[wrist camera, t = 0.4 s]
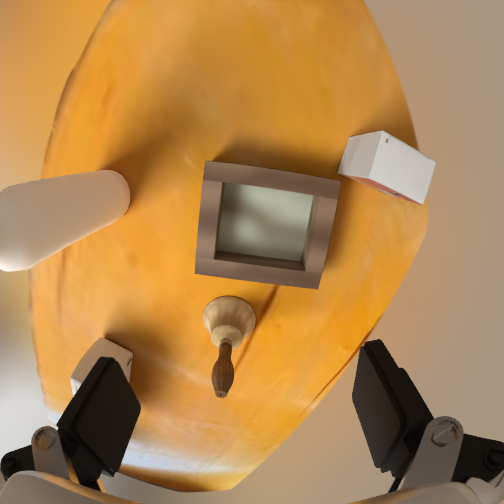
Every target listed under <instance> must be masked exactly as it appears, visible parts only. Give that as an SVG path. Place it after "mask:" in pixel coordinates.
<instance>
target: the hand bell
mask: <svg viewBox="0 0 504 504" xmlns="http://www.w3.org/2000/svg"><path fill="white" fill-rule="evenodd" d="M203 323H204V325H205V328H206V329H207V331H208V332H209V333H210V334H211V340H212V342H213V344H214V345H215V346H216V347H217V348H219V358H218V360H217V361H216V363H215V365H214V367H213V371H212V384H213V387H214V390H215V394H216V396H217V397H219V398H224V397H226V396H227V393H228V391H229V389H230V388H231V386H232V384H233V380H234V368H233V364H232V362H231V353H232V350H234V349H236V348H238V347H239V346H240V345H241V343H242V340H243V339H244V338H246V337H247V336H248V335H249V334H250V333H251V332H252V331H253V330H254V328H255V325H256V315H255V312H254V310H253V308H252V307H251V306H250V305H249V304H248V303H247V302H246V301H244V300H242V299H240V298H237V297H233V296H223V297H219V298H216V299H214V300H212V301H211V302H210V303H209V304H208V305H207V306H206V307H205V309H204V312H203Z"/></svg>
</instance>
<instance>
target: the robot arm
mask: <svg viewBox="0 0 504 504" xmlns="http://www.w3.org/2000/svg"><path fill="white" fill-rule="evenodd" d="M352 399H353V403H354V406H355V409H356V412H357V414H358V417H359V420H360V423H361V425H362V429H363V432H364V435H365V438H366V440H367V443H368V446H369V450H370V453H371V456H372V459H373V462H374V465H375V467H376V468H380V469H381V472H382V473H384V472H387V471H391V473H392V476H393V477H394V479H393V481H392V483H391V485H390V486H389V488H388V490H387V492H386V494H384V495H380V496H376V497H372V498H369V499H365V500H361V501H357V502H353V503H348V504H504V443H503V442H500V441H496V440H491V439H486V438H480V437H477V436H472V435H468V434H464V433H463V428H462V425H461V424H460V423H459V421H457V420H456V419H455V418H452V417H448V416H442V417H437V418H435V419H434V418H433V416H432V414H431V412H430V411H429V409H428V407H427V405H426V404H425V402H424V400H423V399H422V397H421V395H420V394H419V392H418V390H417V389H416V387H415V385H414V384H413V382H412V380H411V379H410V377H409V375H408V374H407V372H406V371H405V370H404V369H403V368H399V367H398V366H397V364H396V363H395V361H394V359H393V358H392V356H391V355H390V353H389V351H388V350H387V348H386V347H385V345H384V343H383V342H382V341H381V340H380V339H378V340H373V341H368V342H365V344H364V346H362V347H361V348H360V352H359V359H358V365H357V371H356V377H355V382H354V387H353V392H352ZM140 411H141V406H140V403H139V401H138V400H137V398H136V396H135V394H134V392H133V390H132V388H131V386H130V384H129V382H128V380H127V378H126V376H125V374H124V372H123V370H122V368H121V366H120V364H119V362H118V361H116V360H115V358H113V357H103V356H101V357H100V358H99V359H98V360H97V362H96V363H95V364H94V366H93V367H92V369H91V370H90V372H89V373H88V375H87V376H86V378H85V380H84V381H83V383H82V384H81V386H80V387H79V389H78V390H77V392H76V393H75V395H74V397H73V398H72V400H71V401H70V403H69V405H68V406H67V408H66V409H65V411H64V413H63V414H62V416H61V418H60V419H59V421H58V423H57V424H56V425H57V427H58V430H56V429H55V428H53V427H50V426H45V427H41V428H40V429H38V430H37V431H36V432H35V433H34V434H33V437H32V441H31V444H32V445H29V446H26V447H24V448H20V449H17V450H14V451H12V452H9V453H7V454H5V455H4V456H3V458H2V460H1V464H0V465H1V466H0V504H142V503H138V502H134V501H130V500H126V499H123V498H119V497H116V496H112V495H109V494H107V493H106V490H105V488H104V486H103V484H102V481H101V479H100V475H101V473H102V474H104V475H107V476H110V477H114V474H115V472H117V471H118V470H119V468H120V465H121V462H122V459H123V457H124V454H125V451H126V448H127V446H128V443H129V440H130V438H131V435H132V432H133V430H134V427H135V424H136V422H137V419H138V417H139V414H140Z"/></svg>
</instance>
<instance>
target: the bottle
mask: <svg viewBox="0 0 504 504" xmlns="http://www.w3.org/2000/svg"><path fill="white" fill-rule="evenodd" d="M129 203H130V189H129V186H128V183H127V181H126V180H125V179H124V177H123V176H122V175H121V174H119V173H118V172H116V171H112V170H98V171H94V172H86V173H79V174H72V175H65V176H59V177H53V178H47V179H42V180H37V181H31V182H27V183H22V184H17V185H13V186H9V187H7V188H5V189H3V190H2V191H1V192H0V269H2V270H4V271H19V270H25V269H30V268H31V267H33V266H34V265H36V264H38V263H39V262H41V261H43V260H44V259H46V258H48V257H49V256H51V255H53V254H55V253H56V252H58V251H60V250H62V249H63V248H65V247H67V246H69V245H71V244H72V243H74V242H76V241H78V240H80V239H82V238H84V237H85V236H87V235H89V234H91V233H93V232H95V231H97V230H99V229H101V228H103V227H105V226H108V225H110V224H112V223H114V222H115V221H117V220H118V219H120V218H121V217H123V215H124V214H125V213H126V211H127V210H128V207H129Z"/></svg>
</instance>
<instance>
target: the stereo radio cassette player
mask: <svg viewBox="0 0 504 504" xmlns="http://www.w3.org/2000/svg"><path fill="white" fill-rule="evenodd" d="M101 356H103V357H113V358H115V360H116V361H118V362H119V364H120V366H121V368H122V370H123V372H124V374H125V376H126V378H127V380H128V382H130V373H131V365H132V357H133V353H132V352H130V351H128V350H126V349H125V348H123V347H121V346H119V345H117V344H115V343H113V342H110V341H109V340H106V339H104V338H99V339H98V340H97V341H96V342H95V343H94V344H93V345H92V346H91V347H90V349H89V350H88V351H87V353H86V354H85V355H84V357H83V358H82V359H81V361H80V362H79V364H78V365H77V367H76V368H75V370H74V371H73V373H72V375H71V386H72V392H73V397H74V395H75V393H76V392H77V390H78V389H79V387H80V386H81V384H82V383H83V381H84V380H85V378H86V376H87V375H88V373H89V372H90V370H91V369H92V367H93V366H94V364H95V363H96V362H97V360H98V359H99V358H100V357H101Z"/></svg>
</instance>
